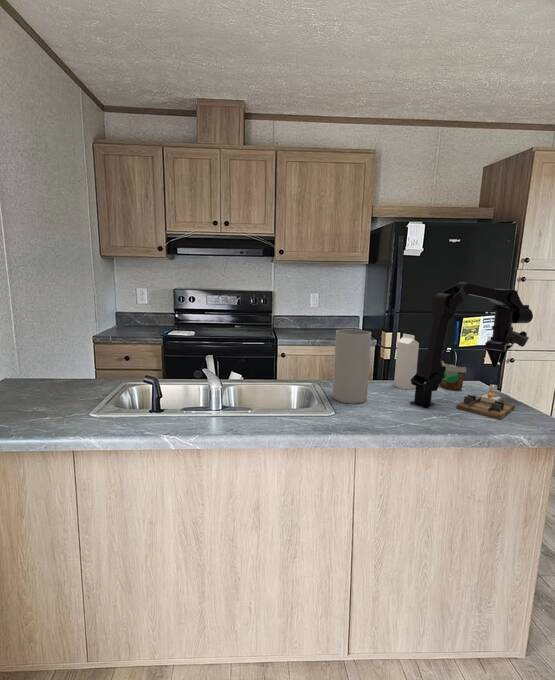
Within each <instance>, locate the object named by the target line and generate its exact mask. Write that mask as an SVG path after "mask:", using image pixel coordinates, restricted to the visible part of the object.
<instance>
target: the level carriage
mask: <svg viewBox="0 0 555 680" xmlns="http://www.w3.org/2000/svg"><path fill="white" fill-rule="evenodd" d="M497 392H498V385H497V384H492V383H491V384H489V389H488V393H485V394H483V395H481V396H480V397H481V401H484V402H488V403H495V401H500V400H501V399H502V396H497Z"/></svg>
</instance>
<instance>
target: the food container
mask: <svg viewBox="0 0 555 680" xmlns="http://www.w3.org/2000/svg"><path fill="white" fill-rule="evenodd" d="M441 363H442V365H443V366H445V367H446V370H445V373H444V378H443V379H442V382H441V383H440V384H439V388H442V389H445V390H449V391H462V390H463V389H462V388H463V384H464V380H465V379H464V378H465V374H466V373H467V367H466V366H458V365H455V364H448V363H445V361H444V360H441Z"/></svg>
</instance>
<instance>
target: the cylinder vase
mask: <svg viewBox="0 0 555 680" xmlns="http://www.w3.org/2000/svg"><path fill="white" fill-rule="evenodd" d="M334 341H335V343H334V344H335V345H334V359H333V360H334V361H333V362H334V363H333V364H334V365H333V378H332V381H333V382H332V383H333V384H332V398H333V399H334V400H335V401H338V402H340V403H344V404H352V405H353V404H354V405H355V404H362V403H364V402H366V401H367V399H368V387H369V374H370V373H369V372H370V358H371V346H372V345H371V343H372V332H371V331H368V330H362V329H350V328H349V329H348V328H347V329H337V330H335V340H334Z"/></svg>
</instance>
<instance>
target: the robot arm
mask: <svg viewBox="0 0 555 680" xmlns="http://www.w3.org/2000/svg"><path fill="white" fill-rule="evenodd" d="M468 295H469V296H473V297H479V298H483V299H487V300H489V301H490V302H492V303H494V304H495V305H494V306H493V307H491V308H490V310H489V311H490V312H494V320H493V325H492V326H491V330H492V335H491V337H490V339H489V340H487V341H486V342H485V343H484V344H485V345H484V349H485V350H486V352H487V354H488V357H489V360H490V363H491V366H492V367H493V368H495V369H496V368H497V367H498V364H504V360H505V358H506V355H507V352H508V350H509V349H511V348H512V347H513V346H514V345H515V344H517V345H518V346H520V347H525V346H526V343H528V341H529V339H530V337H529V336H528V333H527V332H526V331H525V330H522V331H521V332H518V331H514V327H513V326H512V325H513V324H529V323H530V322H532V320H533V318H534V314H533V311H532V310H531V309H530V305H529V304H523V302H522V300H521V298H520V296H519V294H518V291H517V289H508V288H493V287H492V288H491V287H487V286H484V285H478V284H473V283H471V282H467V281H459V282H457V283H456V284H454V285H452V286H451V287H448V288H446V289H444V290H443V291H441V292H439V293H437V294H436V295H434V296H433V298H432V300H431V312H432V315H433V323H432V327H431V333H430V337H429V343H428V348H427V351H426V357H425V358H424V359H423V360H422V362H421V363H420V366H419V368H418V369H417V372H416V375H415V376H414V377H413V378H412V379H411V384H412V385H414V386H415V388H414V399H413V400H412V401H410V402H409V404H410V405H414V406H416V407H422V408H425V409H429V408H430V407H432V406H434V405H435V404H436V403H435V402H432V399H433V392H435V391H438V389H439V388H440V383H441V382H442V379H443V378H444V373H445V370H446V367H445V366H443V365H442V363H441V361H442V357H443V352H444V345H445V342H446V337H447V332H448V327H449V324H450V320H451V319H452V318H453V316H454V315H455V314H456V312H457V309H458V308H459V307H458V306H459V305H461V304H462V303H463V302H464V301H465V299H466V298H467V296H468Z"/></svg>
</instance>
